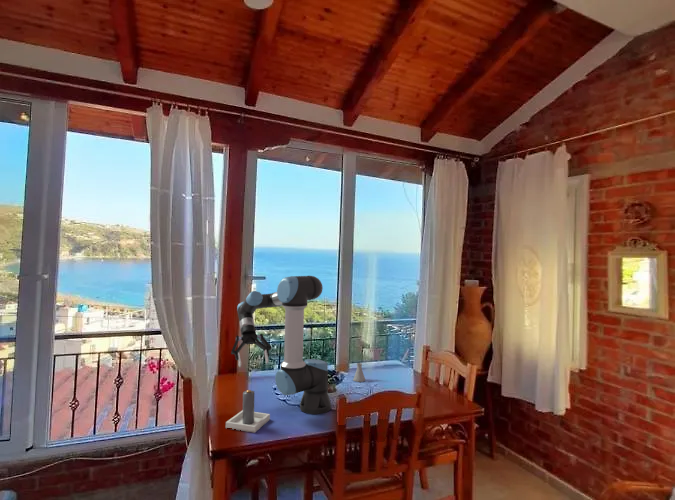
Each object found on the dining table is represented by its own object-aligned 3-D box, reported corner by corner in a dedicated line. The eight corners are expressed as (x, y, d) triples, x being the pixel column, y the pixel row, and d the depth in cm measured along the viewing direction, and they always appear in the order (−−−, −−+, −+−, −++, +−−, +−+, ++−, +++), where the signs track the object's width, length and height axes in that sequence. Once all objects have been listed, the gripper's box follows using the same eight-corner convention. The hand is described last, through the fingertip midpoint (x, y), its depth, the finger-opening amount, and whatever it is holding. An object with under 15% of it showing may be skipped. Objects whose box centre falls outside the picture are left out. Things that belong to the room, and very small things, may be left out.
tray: (269, 419, 183) (269, 414, 183) (254, 432, 169) (254, 426, 169) (242, 415, 187) (242, 410, 187) (225, 428, 173) (225, 422, 173)
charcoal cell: (256, 420, 180) (256, 389, 180) (250, 425, 175) (250, 393, 175) (246, 419, 181) (246, 388, 181) (240, 423, 176) (240, 391, 176)
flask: (361, 383, 234) (361, 366, 234) (350, 381, 238) (351, 364, 238) (367, 379, 240) (367, 363, 240) (356, 377, 244) (357, 361, 244)
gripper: (269, 330, 221) (276, 365, 207) (222, 334, 211) (227, 370, 197) (272, 322, 216) (279, 357, 203) (224, 325, 206) (229, 362, 192)
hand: (254, 364), depth 200 cm, fingers open, 13 cm apart
